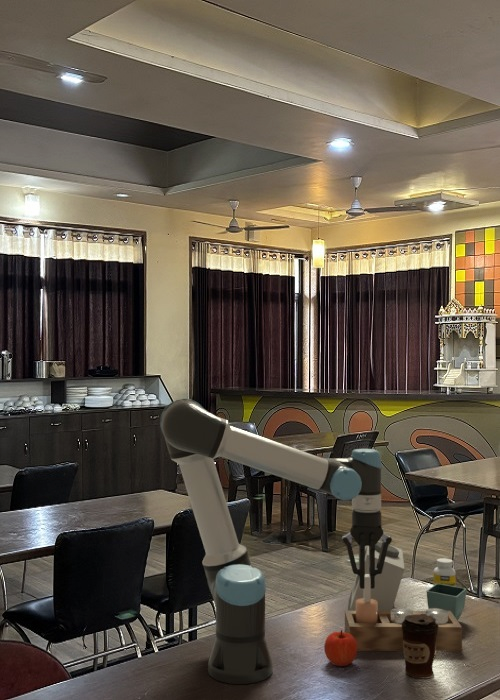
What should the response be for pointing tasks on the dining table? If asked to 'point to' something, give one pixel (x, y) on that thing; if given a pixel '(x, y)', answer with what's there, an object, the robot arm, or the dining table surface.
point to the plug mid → (399, 614)
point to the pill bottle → (445, 572)
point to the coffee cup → (419, 644)
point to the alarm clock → (381, 579)
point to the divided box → (398, 633)
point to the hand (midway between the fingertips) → (367, 600)
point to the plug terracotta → (366, 611)
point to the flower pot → (447, 598)
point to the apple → (340, 648)
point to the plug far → (438, 615)
